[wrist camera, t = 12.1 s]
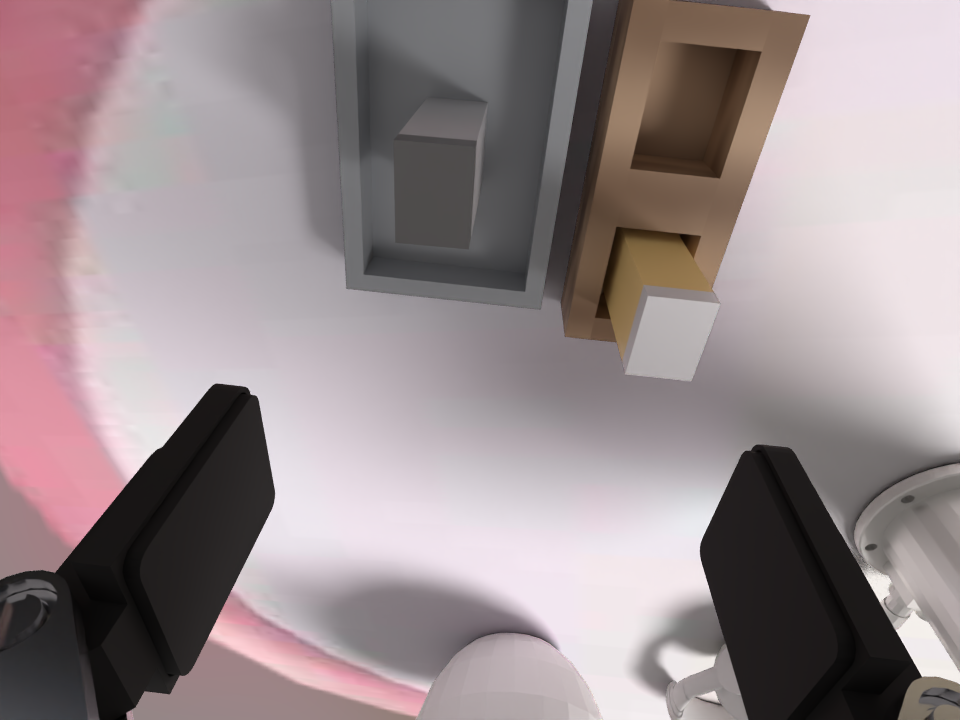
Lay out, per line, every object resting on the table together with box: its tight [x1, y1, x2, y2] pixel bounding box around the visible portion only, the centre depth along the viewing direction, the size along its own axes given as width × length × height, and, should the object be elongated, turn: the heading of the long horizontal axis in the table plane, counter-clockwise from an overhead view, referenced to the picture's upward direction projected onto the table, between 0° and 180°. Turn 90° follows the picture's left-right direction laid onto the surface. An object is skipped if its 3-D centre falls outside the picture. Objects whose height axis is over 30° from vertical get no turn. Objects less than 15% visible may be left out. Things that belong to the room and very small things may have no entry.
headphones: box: [666, 643, 748, 720], centre depth 54 cm, size 18×8×20 cm
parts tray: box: [331, 0, 593, 309], centre depth 28 cm, size 16×11×3 cm
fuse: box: [602, 227, 721, 382], centre depth 28 cm, size 4×3×9 cm
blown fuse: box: [393, 97, 488, 250], centre depth 25 cm, size 4×3×9 cm
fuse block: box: [561, 0, 810, 342], centre depth 28 cm, size 16×7×4 cm, turn 175°
